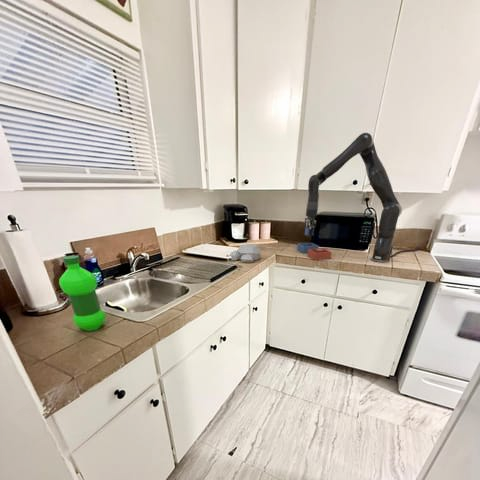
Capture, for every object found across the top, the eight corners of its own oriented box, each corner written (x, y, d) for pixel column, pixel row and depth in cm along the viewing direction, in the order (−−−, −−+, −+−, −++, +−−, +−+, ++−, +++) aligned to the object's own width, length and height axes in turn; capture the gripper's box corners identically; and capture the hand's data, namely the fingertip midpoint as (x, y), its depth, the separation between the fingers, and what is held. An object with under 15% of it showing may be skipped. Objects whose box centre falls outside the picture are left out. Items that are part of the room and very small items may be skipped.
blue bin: (310, 248, 195) (311, 242, 193) (317, 252, 185) (318, 245, 183) (296, 249, 193) (297, 243, 191) (303, 253, 183) (303, 246, 181)
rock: (254, 264, 159) (254, 248, 155) (225, 261, 167) (225, 245, 162) (264, 257, 174) (265, 242, 169) (237, 254, 181) (237, 240, 176)
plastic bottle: (97, 335, 87) (73, 262, 75) (69, 333, 89) (42, 260, 77) (114, 321, 96) (96, 253, 84) (89, 319, 97) (67, 252, 85)
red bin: (322, 254, 179) (323, 248, 177) (330, 258, 170) (331, 252, 168) (307, 255, 177) (308, 249, 175) (314, 259, 168) (315, 253, 166)
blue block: (310, 234, 186) (311, 227, 184) (313, 235, 182) (314, 228, 180) (304, 234, 185) (305, 227, 183) (307, 235, 181) (308, 229, 179)
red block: (320, 255, 176) (321, 248, 174) (323, 257, 172) (324, 250, 170) (314, 255, 175) (314, 249, 173) (317, 257, 171) (318, 250, 169)
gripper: (322, 209, 170) (318, 236, 178) (312, 207, 182) (309, 232, 190) (311, 209, 169) (308, 236, 177) (302, 207, 181) (299, 233, 189)
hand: (309, 234), depth 184 cm, fingers closed on blue block, 4 cm apart
